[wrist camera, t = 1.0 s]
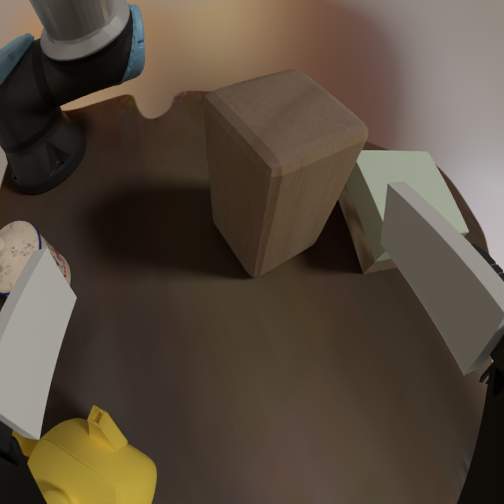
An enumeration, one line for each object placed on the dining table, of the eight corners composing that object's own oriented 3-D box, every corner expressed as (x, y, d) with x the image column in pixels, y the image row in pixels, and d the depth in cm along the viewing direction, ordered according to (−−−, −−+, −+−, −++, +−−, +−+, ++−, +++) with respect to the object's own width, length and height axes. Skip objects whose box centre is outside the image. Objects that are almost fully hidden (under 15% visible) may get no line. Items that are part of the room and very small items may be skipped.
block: (210, 220, 39) (197, 90, 21) (273, 188, 42) (297, 63, 24) (252, 283, 36) (271, 171, 18) (318, 244, 39) (377, 128, 21)
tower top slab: (341, 173, 39) (351, 150, 35) (414, 170, 41) (427, 152, 37) (374, 261, 34) (391, 244, 30) (450, 247, 35) (468, 231, 31)
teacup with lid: (85, 281, 35) (38, 239, 24) (41, 329, 31) (-15, 302, 21) (45, 228, 37) (5, 182, 27) (7, 270, 34) (-40, 234, 24)
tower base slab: (333, 192, 43) (342, 172, 39) (404, 187, 45) (416, 171, 41) (361, 275, 38) (375, 261, 34) (434, 260, 39) (451, 247, 35)
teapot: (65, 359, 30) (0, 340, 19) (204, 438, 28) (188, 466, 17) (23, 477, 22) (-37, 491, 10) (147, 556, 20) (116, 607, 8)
